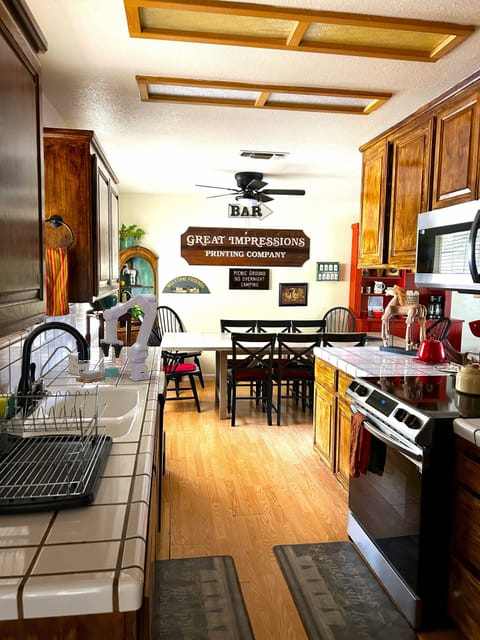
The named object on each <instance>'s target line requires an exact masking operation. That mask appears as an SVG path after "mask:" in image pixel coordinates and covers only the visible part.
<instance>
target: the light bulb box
mask: <svg viewBox="0 0 480 640" xmlns="http://www.w3.org/2000/svg"><path fill="white" fill-rule="evenodd" d="M78 353H79V352H73V353H72V352H69V353H68V355H67V356H68V373H69V374H72V375H76V376H80V372H85V371H90V360H89V361H79V360H78Z"/></svg>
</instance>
